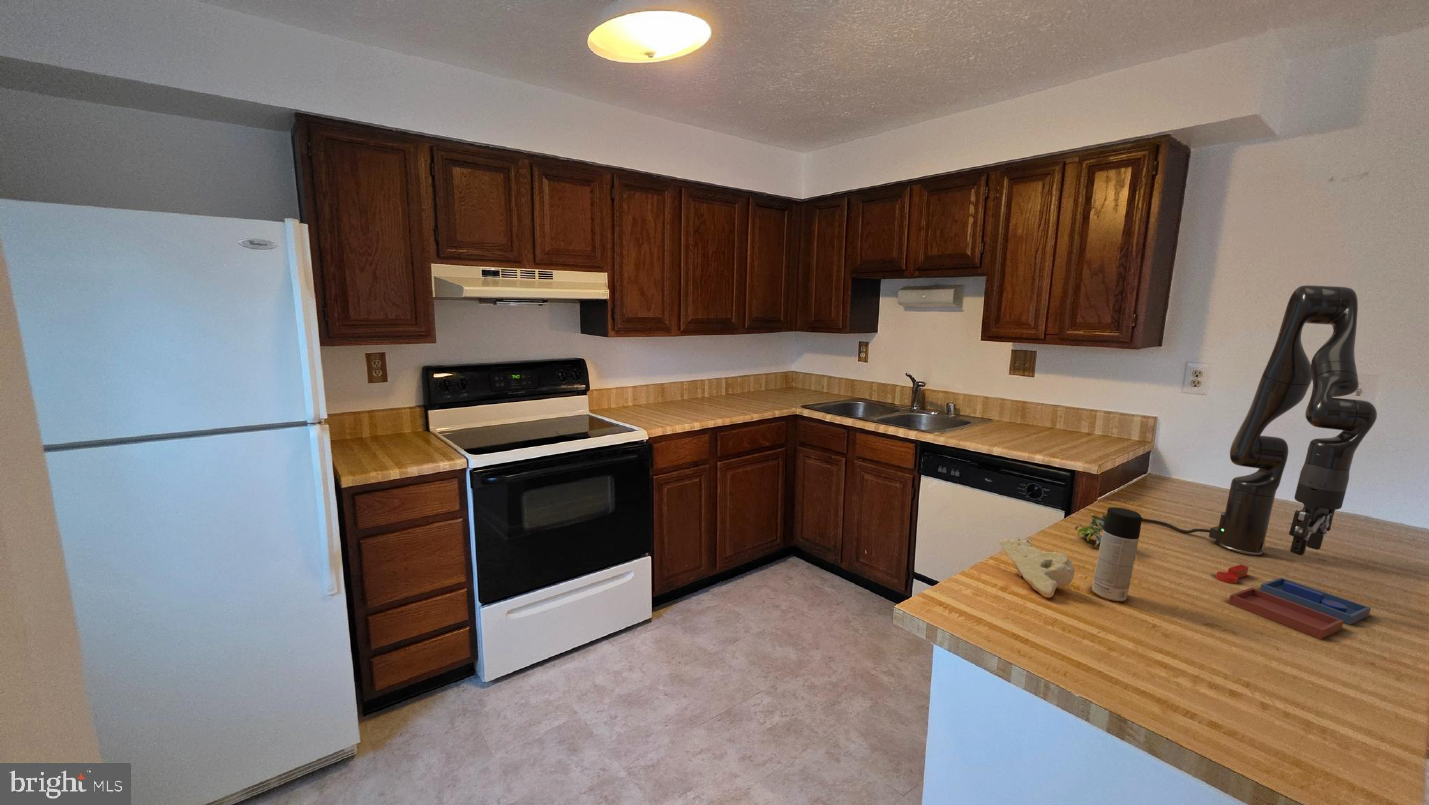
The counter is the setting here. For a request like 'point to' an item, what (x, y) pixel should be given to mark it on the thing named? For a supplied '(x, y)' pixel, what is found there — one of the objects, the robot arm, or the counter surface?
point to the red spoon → (1233, 574)
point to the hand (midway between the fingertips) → (1304, 551)
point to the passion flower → (1090, 530)
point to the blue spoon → (1312, 596)
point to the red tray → (1286, 612)
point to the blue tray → (1350, 617)
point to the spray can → (1117, 554)
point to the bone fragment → (1039, 566)
